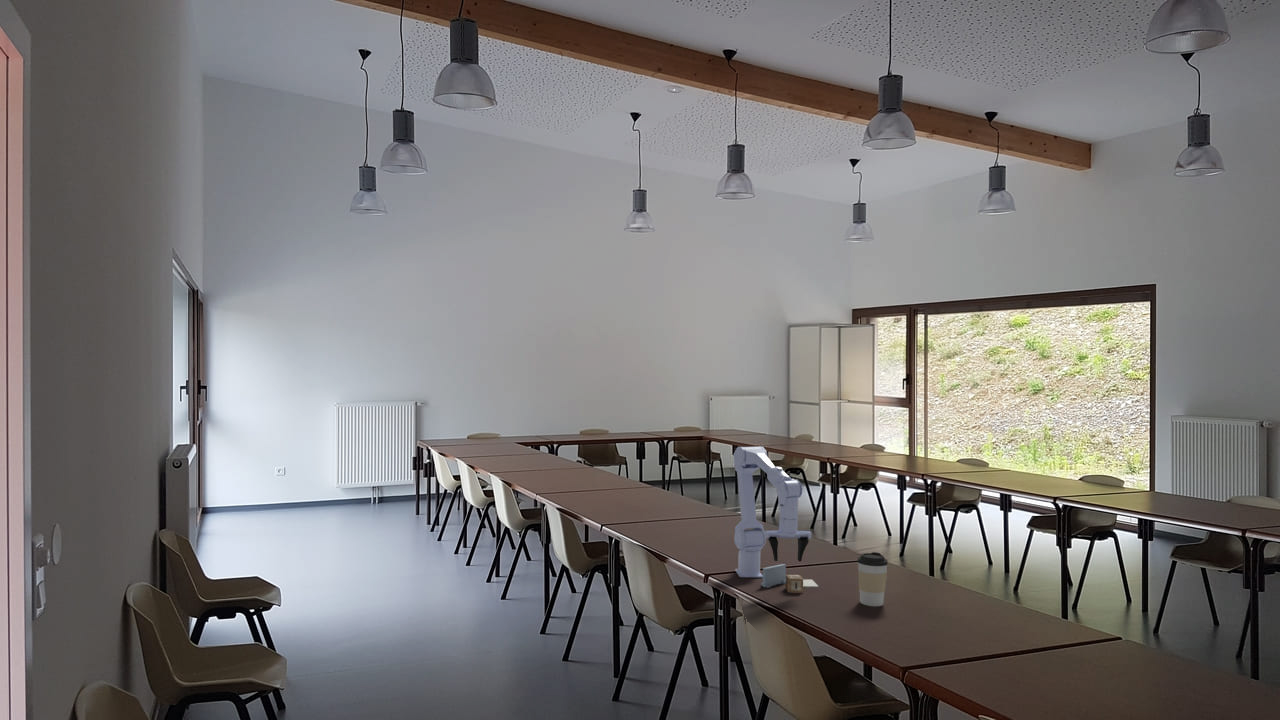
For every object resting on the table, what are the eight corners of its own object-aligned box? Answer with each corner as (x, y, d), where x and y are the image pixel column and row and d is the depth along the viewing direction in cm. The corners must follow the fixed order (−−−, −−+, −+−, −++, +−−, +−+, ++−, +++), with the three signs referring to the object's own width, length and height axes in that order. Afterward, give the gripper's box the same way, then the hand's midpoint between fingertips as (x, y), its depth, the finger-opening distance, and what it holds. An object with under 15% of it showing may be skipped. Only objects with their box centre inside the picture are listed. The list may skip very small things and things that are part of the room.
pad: (788, 580, 282) (788, 579, 282) (811, 580, 282) (812, 579, 282) (794, 587, 274) (794, 585, 274) (818, 587, 274) (818, 586, 274)
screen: (760, 585, 274) (760, 567, 274) (780, 581, 281) (781, 563, 281) (767, 588, 272) (767, 569, 272) (787, 583, 278) (788, 565, 278)
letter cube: (785, 588, 272) (785, 573, 272) (799, 589, 272) (799, 574, 272) (788, 593, 267) (789, 577, 267) (803, 593, 267) (803, 578, 267)
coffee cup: (880, 609, 251) (881, 559, 251) (851, 603, 257) (852, 554, 257) (891, 602, 259) (892, 554, 259) (863, 596, 264) (864, 549, 264)
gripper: (768, 520, 263) (767, 563, 263) (814, 520, 263) (813, 563, 263) (764, 515, 270) (763, 557, 270) (808, 516, 270) (807, 558, 270)
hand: (787, 560), depth 267 cm, fingers open, 7 cm apart
